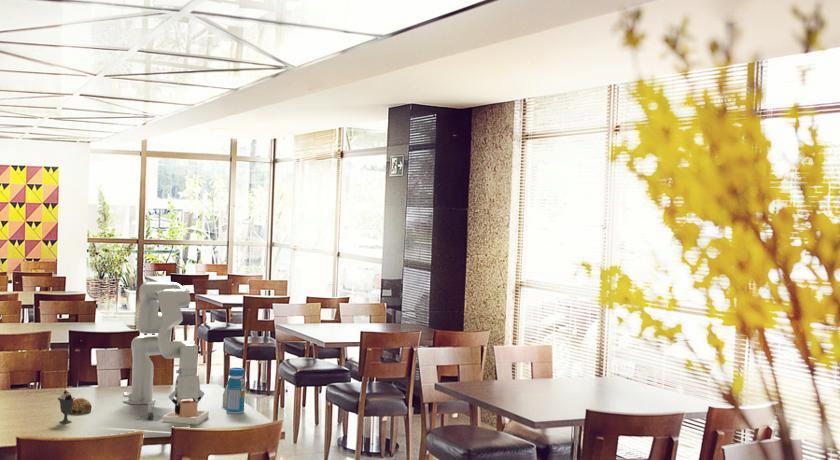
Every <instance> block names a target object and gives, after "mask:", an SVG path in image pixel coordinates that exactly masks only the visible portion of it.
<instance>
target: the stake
mask: <svg viewBox="0 0 840 460" xmlns="http://www.w3.org/2000/svg"><path fill="white" fill-rule="evenodd" d="M154 414H155V402H149V403H148V404H147V414H142V415H140V416H137V418H135V419H134V420H135V421H150V422H151V421H152V422H159V421H160V420H162V416H163V415H157V414H155V415H154Z"/></svg>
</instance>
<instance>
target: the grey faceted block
mask: <svg viewBox="0 0 840 460" xmlns="http://www.w3.org/2000/svg"><path fill="white" fill-rule="evenodd" d="M227 387H228V385H225V388H224V390H223V394H222V405H221V406H222V408H225V409H226V402H227Z"/></svg>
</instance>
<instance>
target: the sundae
mask: <svg viewBox="0 0 840 460" xmlns="http://www.w3.org/2000/svg"><path fill="white" fill-rule="evenodd" d="M62 387H63V388H64V391H63V393H62V395H61V396H60V397H57V401H58V402H59V407H60V412H61V413H62V414H63V416H64V417H63V420H61V421H59V422H58V423H59V424H63V425H64V424H65V425H66V424H72V420H69V419H68V414H69V412H70V411H71V409H72V404H73V400H75V399H76V397H74V396H72V394H71V393H70V392H69V391H68V390H66V387H65V385H64V386H62Z"/></svg>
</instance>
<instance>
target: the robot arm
mask: <svg viewBox="0 0 840 460" xmlns="http://www.w3.org/2000/svg"><path fill="white" fill-rule="evenodd" d="M138 297H139V304H140V305H139V311H138V318H137V319H138V321H137V331H138V332H139V333H141V334H143V335H139V336H135V337H134V338H133V339H132V341H131V344H130V345H131V347H130V349H131V354H132V369H131V370H132V371H131V391H130V392H123V396H122V397H123V398H128V399H127V403H128V404H130V405H141V406H142V405H148V403H149V402H154V403H156V398H154V397H153V388H154V387H153V386H154V369H155V368H154V363H153V361H152V359H151V358H150V356H157V355H158V356H159V355H161V356H162V357H163V358H164V359H166V360H171V359H179V362H178V363H179V364H178V365H179V366H178V369H177V370H175V373H176V374H178V375H177V376H176V379H175V384H174V390H173V392H172V393H170V394H169V396H168V398H169V399H170V402H172V403H173V405H174V410H175V412H176V414H178V415H179V414H180V405H179V404H180V402H181V401H182V400H193V401H195V402H197V403H198V404H199V402H200V401H201V400H202V398H203V397H204V396H205V392H204V391H203V390H201V384H200V383H201V382H200V375H199V374H198V356H199V355H198V353H199V348H198V345H197V344H196V343H194V342H191V341H190V340H173V341H172V340H171V339H172V338H171V337H172V330H173V328H175V327H177V326H179V325H180V324H181V323H182V322H183V319H184V317H183V313H182V310H181V308H186V307H188V306H189V305H190V303H191V296H190V293H189V291H188V290H187V289H186V288H185V286H183V285H181V284H180V283H178V282H174V281H148V282H144V283H142V284H141V285H140V287H139V291H138ZM159 309H160V312H159ZM148 334H149V335H148Z"/></svg>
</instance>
